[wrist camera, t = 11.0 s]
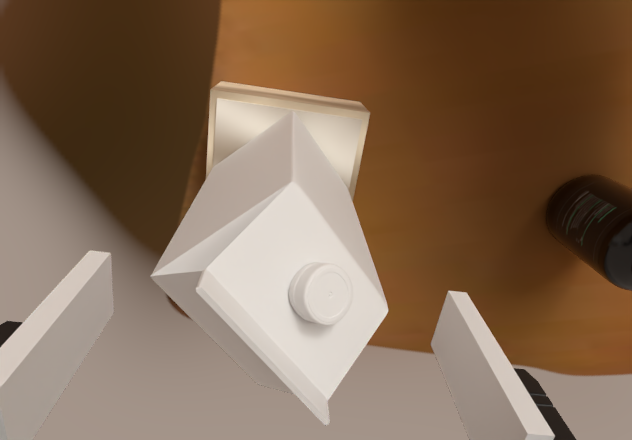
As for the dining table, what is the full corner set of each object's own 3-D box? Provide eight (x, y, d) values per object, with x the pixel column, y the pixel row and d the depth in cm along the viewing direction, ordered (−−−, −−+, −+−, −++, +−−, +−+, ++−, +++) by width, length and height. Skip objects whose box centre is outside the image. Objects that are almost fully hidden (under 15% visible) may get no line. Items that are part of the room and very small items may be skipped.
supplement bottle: (633, 198, 39) (764, 264, 28) (577, 254, 42) (678, 335, 31) (584, 158, 38) (704, 212, 27) (528, 218, 40) (617, 290, 29)
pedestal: (221, 81, 34) (209, 90, 29) (360, 101, 35) (370, 113, 30) (213, 210, 38) (202, 237, 33) (336, 225, 39) (343, 252, 34)
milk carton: (271, 239, 33) (249, 466, 16) (212, 166, 31) (109, 344, 14) (349, 189, 32) (415, 379, 15) (293, 109, 29) (295, 225, 12)
